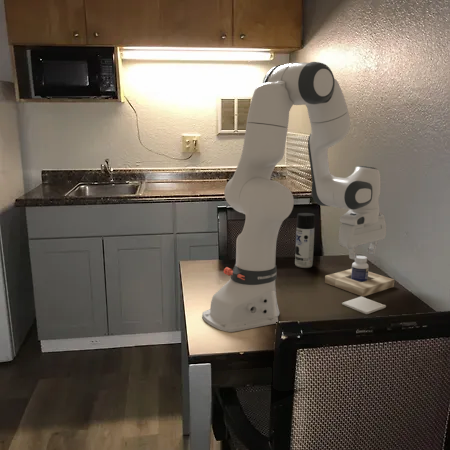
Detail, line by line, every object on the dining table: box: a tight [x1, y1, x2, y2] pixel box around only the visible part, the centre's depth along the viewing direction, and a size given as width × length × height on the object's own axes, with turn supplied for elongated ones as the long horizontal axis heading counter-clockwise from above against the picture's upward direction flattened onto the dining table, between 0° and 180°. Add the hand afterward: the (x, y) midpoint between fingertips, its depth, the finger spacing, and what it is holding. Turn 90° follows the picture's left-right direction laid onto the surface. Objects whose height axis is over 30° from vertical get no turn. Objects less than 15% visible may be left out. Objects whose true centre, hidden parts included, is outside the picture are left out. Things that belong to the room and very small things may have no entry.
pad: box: [341, 296, 387, 315], centre depth 141 cm, size 9×9×1 cm
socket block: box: [324, 268, 395, 298], centre depth 159 cm, size 16×16×2 cm
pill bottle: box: [351, 255, 370, 282], centre depth 159 cm, size 5×5×10 cm
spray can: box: [294, 212, 316, 269], centre depth 178 cm, size 7×7×20 cm
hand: (362, 255), depth 158 cm, fingers open, 8 cm apart
